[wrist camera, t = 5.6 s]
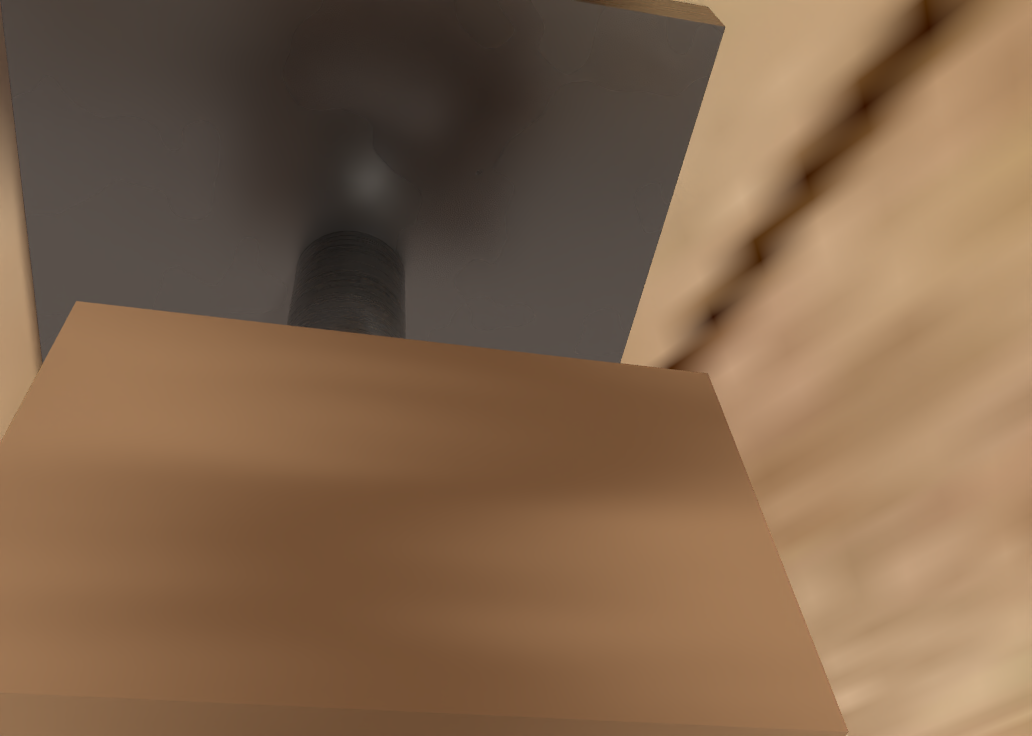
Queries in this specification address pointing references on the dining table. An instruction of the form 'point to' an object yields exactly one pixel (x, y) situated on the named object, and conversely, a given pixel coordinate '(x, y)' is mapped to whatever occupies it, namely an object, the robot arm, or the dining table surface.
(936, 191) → the dining table surface
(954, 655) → the dining table surface
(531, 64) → the stand
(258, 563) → the collar
